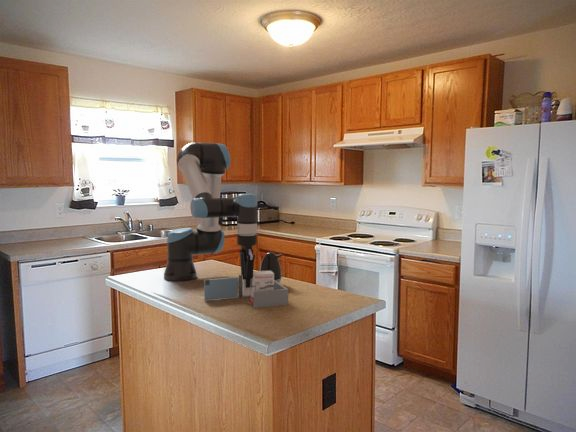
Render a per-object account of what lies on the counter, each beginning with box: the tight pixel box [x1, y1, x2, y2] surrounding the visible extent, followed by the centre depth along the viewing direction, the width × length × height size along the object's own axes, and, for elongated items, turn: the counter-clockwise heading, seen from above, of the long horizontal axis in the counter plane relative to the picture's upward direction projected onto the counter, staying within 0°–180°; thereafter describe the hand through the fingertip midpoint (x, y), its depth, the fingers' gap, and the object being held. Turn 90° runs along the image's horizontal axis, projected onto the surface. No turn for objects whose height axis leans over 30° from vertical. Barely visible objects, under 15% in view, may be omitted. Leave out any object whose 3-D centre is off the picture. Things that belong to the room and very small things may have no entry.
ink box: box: [250, 270, 274, 305], centre depth 162 cm, size 9×5×12 cm, turn 105°
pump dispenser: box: [259, 251, 283, 283], centre depth 188 cm, size 10×10×15 cm
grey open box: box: [238, 274, 289, 309], centre depth 164 cm, size 16×15×9 cm
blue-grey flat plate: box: [203, 276, 239, 301], centre depth 166 cm, size 13×1×8 cm, turn 112°
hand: (246, 295), depth 162 cm, fingers closed
